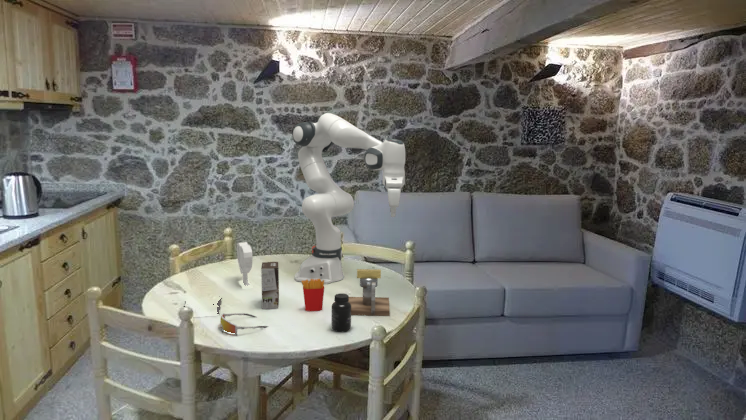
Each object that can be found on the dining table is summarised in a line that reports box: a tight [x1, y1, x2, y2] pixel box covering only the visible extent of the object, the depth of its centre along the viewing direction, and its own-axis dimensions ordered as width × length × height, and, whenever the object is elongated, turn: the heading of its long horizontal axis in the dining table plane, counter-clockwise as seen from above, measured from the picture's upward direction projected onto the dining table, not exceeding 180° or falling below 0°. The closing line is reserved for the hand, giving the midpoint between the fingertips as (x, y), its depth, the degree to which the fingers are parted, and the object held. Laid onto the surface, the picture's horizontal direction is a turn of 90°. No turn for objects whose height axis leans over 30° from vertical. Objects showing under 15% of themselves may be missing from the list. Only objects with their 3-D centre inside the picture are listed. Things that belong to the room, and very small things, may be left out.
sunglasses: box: [220, 312, 268, 335], centre depth 173 cm, size 14×15×5 cm
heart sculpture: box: [236, 241, 253, 286], centre depth 214 cm, size 16×5×18 cm, turn 26°
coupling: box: [356, 268, 382, 290], centre depth 187 cm, size 9×10×6 cm
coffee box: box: [260, 261, 280, 310], centre depth 192 cm, size 9×6×16 cm
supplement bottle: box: [330, 293, 352, 333], centre depth 171 cm, size 7×7×12 cm
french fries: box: [301, 279, 325, 312], centre depth 188 cm, size 8×4×12 cm, turn 99°
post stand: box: [348, 282, 391, 317], centre depth 190 cm, size 14×16×12 cm
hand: (392, 214), depth 199 cm, fingers open, 8 cm apart
